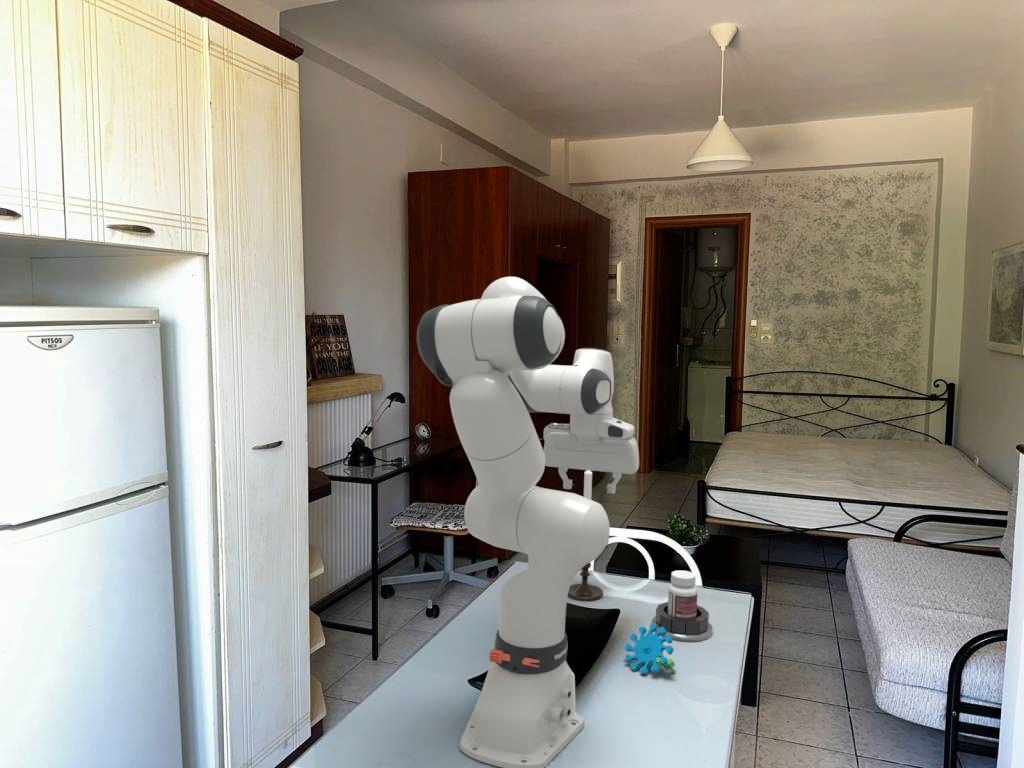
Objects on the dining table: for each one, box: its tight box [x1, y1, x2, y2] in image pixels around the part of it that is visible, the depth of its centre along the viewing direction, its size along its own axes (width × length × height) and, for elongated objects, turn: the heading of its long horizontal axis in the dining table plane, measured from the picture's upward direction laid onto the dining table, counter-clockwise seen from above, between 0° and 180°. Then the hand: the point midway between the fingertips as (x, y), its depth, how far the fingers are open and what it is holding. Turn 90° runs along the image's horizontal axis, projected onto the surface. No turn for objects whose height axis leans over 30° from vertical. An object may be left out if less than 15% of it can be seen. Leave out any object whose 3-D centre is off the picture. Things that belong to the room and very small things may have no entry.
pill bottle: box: [667, 570, 698, 619], centre depth 157 cm, size 6×6×11 cm
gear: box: [624, 623, 677, 676], centre depth 140 cm, size 11×6×10 cm
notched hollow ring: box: [651, 601, 714, 643], centre depth 157 cm, size 13×13×4 cm
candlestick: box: [567, 470, 610, 602], centre depth 175 cm, size 11×11×35 cm
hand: (589, 490), depth 151 cm, fingers open, 8 cm apart
